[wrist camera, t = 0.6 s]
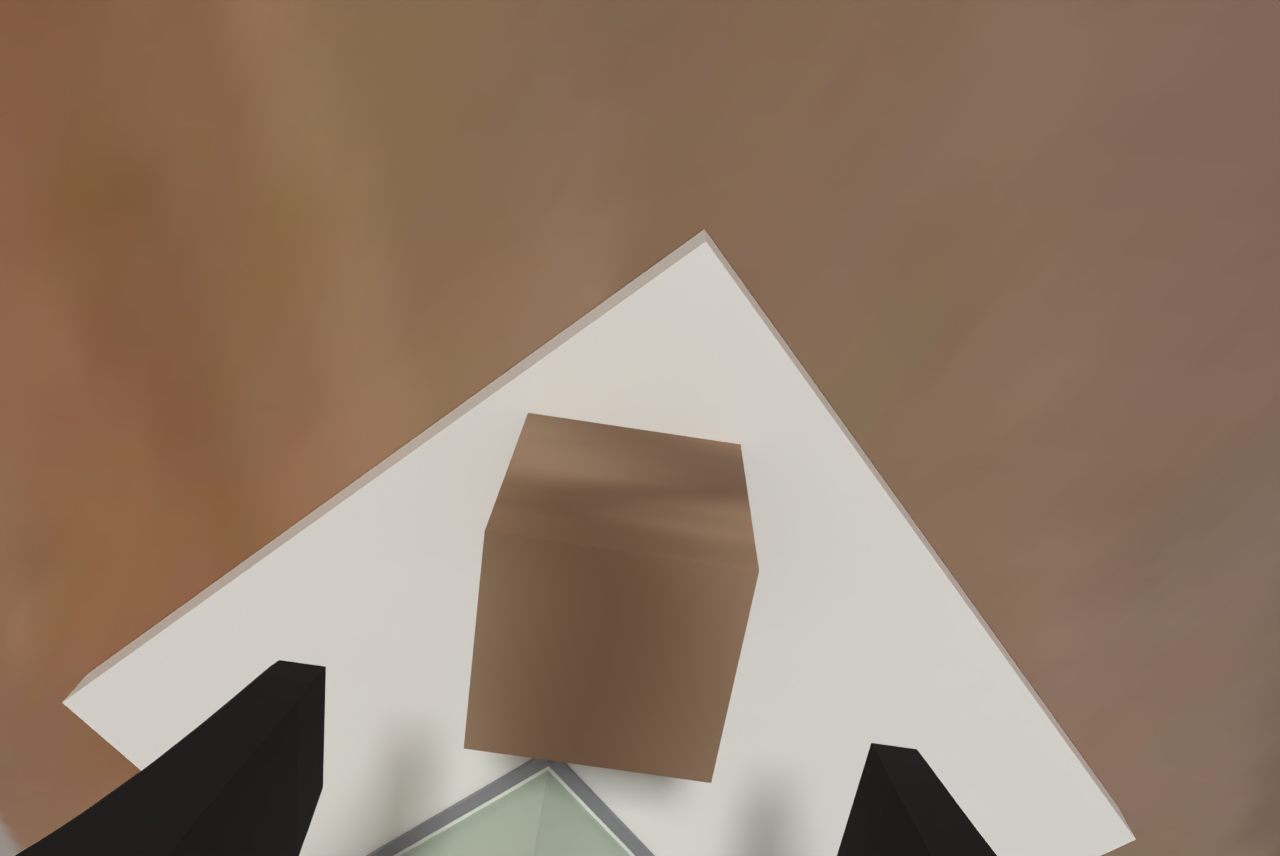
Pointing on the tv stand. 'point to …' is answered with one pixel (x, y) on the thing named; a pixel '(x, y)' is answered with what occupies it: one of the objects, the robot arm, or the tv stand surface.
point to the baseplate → (772, 647)
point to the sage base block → (526, 827)
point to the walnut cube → (612, 599)
